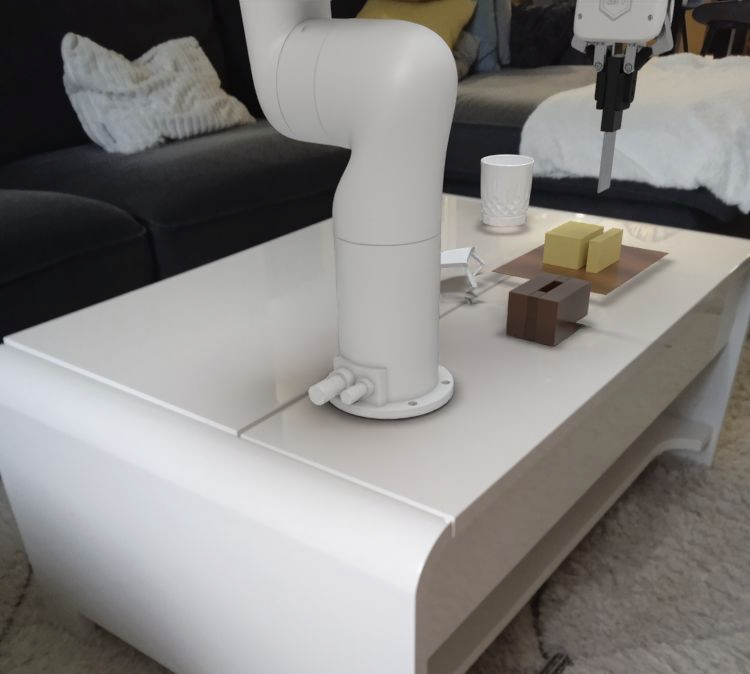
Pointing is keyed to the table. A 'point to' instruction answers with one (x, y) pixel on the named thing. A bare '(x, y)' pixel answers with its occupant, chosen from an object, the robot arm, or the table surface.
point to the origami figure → (462, 263)
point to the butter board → (602, 281)
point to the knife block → (547, 308)
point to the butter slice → (604, 250)
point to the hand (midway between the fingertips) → (612, 107)
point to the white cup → (505, 189)
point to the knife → (610, 120)
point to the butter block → (569, 244)
